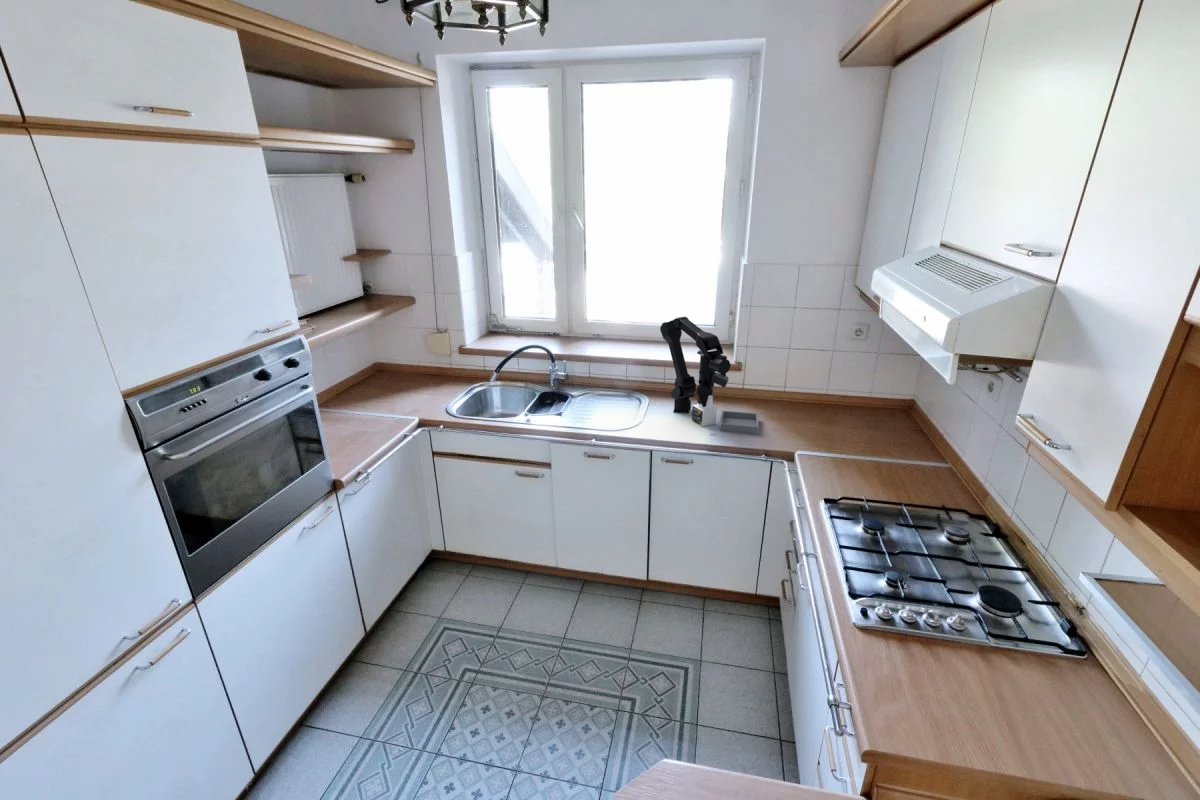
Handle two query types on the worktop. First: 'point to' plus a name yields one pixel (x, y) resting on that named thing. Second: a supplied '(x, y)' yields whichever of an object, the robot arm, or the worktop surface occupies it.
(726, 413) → the bin
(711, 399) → the medicine bottle
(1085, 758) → the worktop surface
